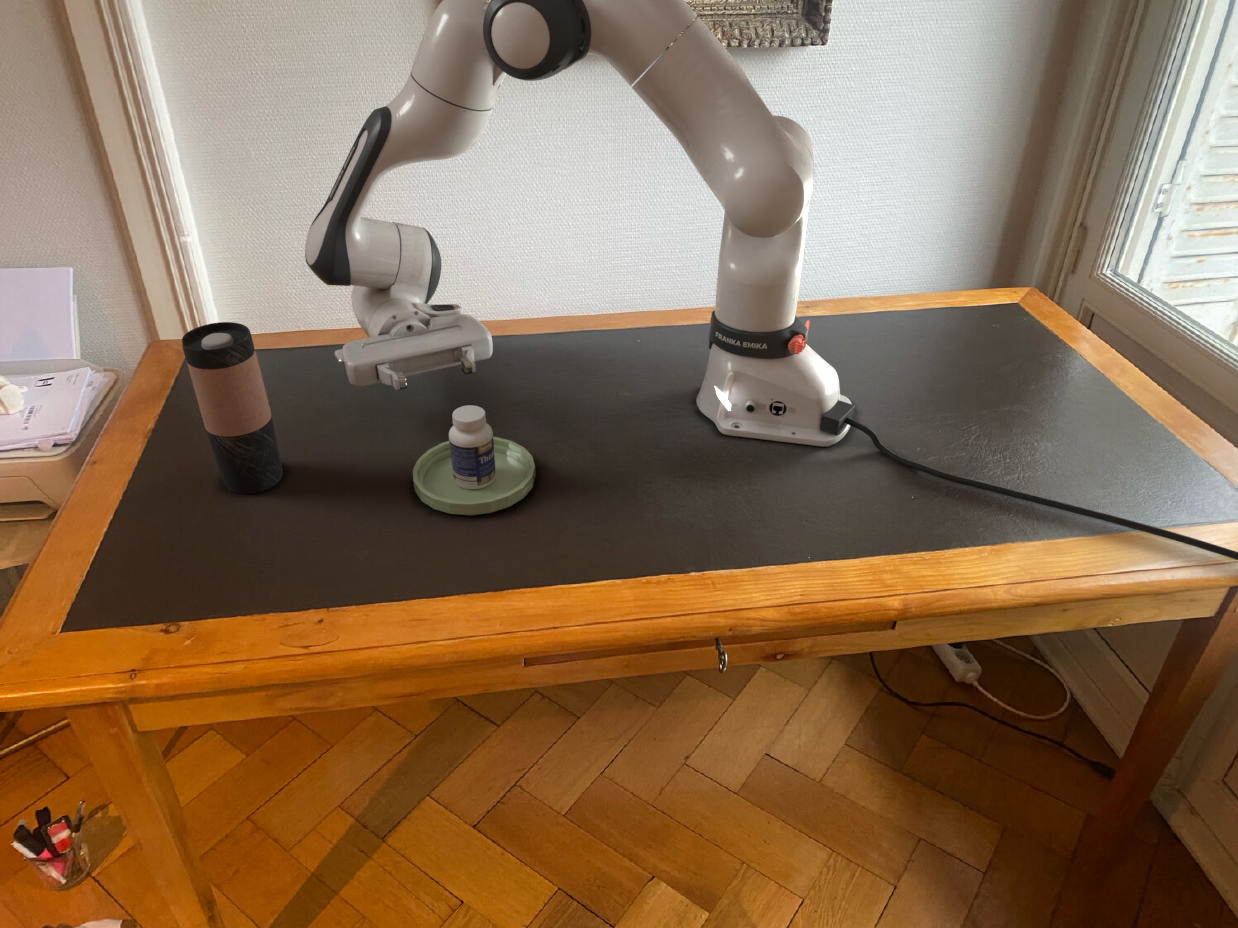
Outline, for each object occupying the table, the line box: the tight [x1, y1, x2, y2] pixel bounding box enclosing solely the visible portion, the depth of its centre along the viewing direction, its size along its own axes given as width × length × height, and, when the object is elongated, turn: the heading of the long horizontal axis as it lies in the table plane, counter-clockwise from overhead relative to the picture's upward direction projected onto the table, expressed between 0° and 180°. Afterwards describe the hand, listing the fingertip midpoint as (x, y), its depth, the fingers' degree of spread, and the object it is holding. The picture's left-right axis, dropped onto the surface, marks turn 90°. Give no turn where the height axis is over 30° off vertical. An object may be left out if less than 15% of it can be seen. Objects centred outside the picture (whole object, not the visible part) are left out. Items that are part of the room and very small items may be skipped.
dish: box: [412, 436, 537, 516], centre depth 112 cm, size 15×15×2 cm
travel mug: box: [181, 321, 284, 495], centre depth 107 cm, size 8×8×20 cm
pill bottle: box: [448, 404, 496, 489], centre depth 110 cm, size 5×5×10 cm
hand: (436, 376), depth 116 cm, fingers open, 8 cm apart
